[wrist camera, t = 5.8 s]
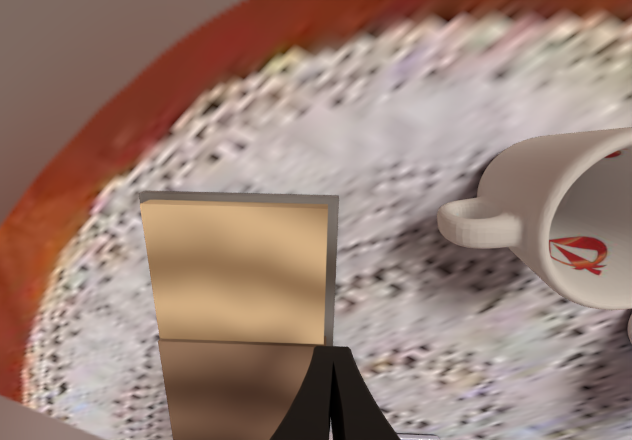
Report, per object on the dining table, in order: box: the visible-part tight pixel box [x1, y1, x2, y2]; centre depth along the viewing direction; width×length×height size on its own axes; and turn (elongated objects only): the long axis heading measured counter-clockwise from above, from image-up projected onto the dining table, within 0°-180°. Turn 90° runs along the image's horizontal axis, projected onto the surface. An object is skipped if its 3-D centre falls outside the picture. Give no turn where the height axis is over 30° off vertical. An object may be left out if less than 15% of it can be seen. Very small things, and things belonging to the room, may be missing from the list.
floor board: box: [139, 191, 339, 440], centre depth 23 cm, size 21×13×2 cm, turn 179°
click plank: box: [140, 200, 328, 344], centre depth 21 cm, size 10×12×1 cm
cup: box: [437, 127, 632, 310], centre depth 17 cm, size 11×8×8 cm
